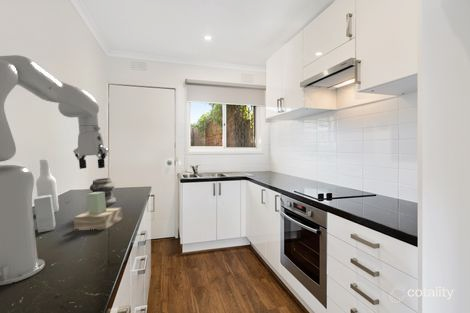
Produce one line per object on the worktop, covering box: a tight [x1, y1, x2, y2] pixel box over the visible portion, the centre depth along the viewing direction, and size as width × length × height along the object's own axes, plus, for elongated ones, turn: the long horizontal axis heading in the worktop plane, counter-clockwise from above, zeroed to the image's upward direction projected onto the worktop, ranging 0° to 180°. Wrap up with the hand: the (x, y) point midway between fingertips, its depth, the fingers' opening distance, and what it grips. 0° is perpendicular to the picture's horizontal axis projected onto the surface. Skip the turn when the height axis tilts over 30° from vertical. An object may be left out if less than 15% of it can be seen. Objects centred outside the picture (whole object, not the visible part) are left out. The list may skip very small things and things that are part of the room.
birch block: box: [73, 207, 123, 231], centre depth 111 cm, size 14×14×6 cm
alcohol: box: [35, 158, 60, 214], centre depth 134 cm, size 9×9×30 cm
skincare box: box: [33, 195, 57, 233], centre depth 107 cm, size 8×6×15 cm
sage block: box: [86, 191, 106, 214], centre depth 110 cm, size 5×5×9 cm
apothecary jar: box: [89, 177, 117, 208], centre depth 131 cm, size 12×12×18 cm
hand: (92, 168), depth 109 cm, fingers open, 9 cm apart
